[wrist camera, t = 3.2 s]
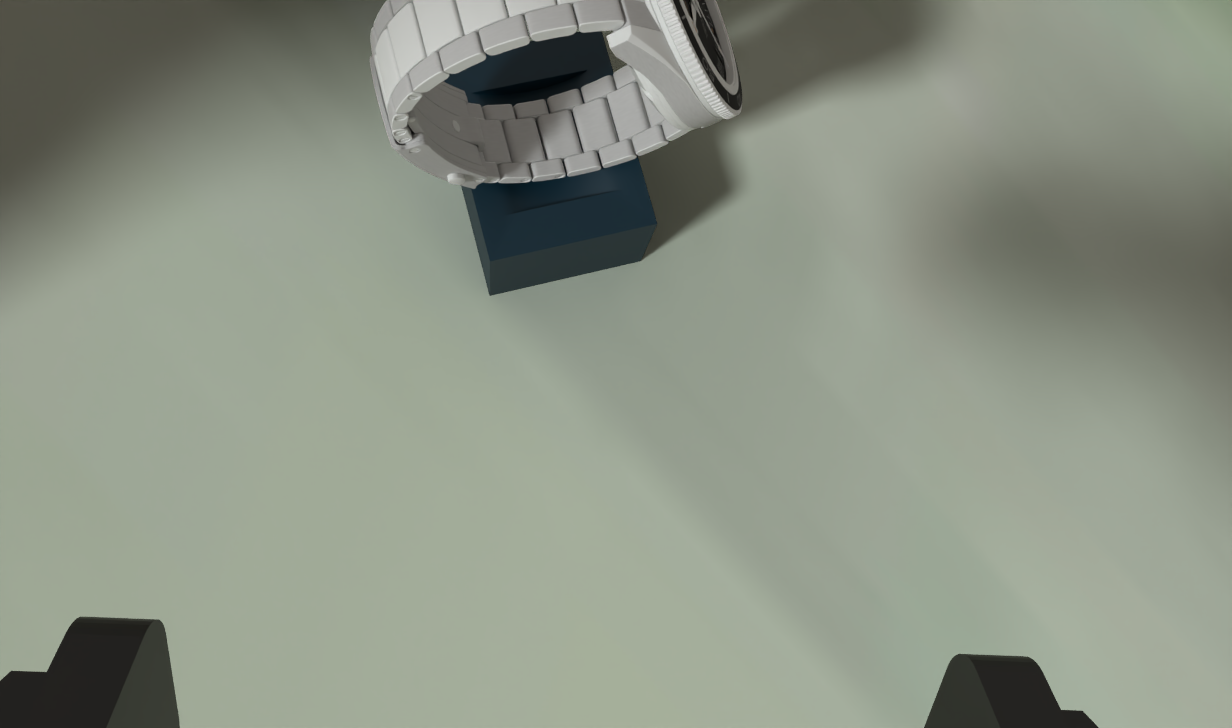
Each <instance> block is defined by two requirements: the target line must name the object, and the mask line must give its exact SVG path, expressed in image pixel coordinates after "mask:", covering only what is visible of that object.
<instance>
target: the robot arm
mask: <svg viewBox="0 0 1232 728" xmlns="http://www.w3.org/2000/svg"><path fill="white" fill-rule="evenodd" d="M0 728H180V726H179V716H178V709H177V703H176V696H175V690H174V683H173V677H172V670H171V664H170V657H169V651H168V644H167V638H166V632H165V628H164V625H163V623H162V622H161V621H160V620H154V619H128V618H103V617H79V618H77V619H76V620H75V621H74V622H73V623H72V624H71V626H70V627H69V629H68V630H67V632H66V634H65V636H64V638H63V640H62V642H61V644H60V646H59V648H58V650H57V652H56V654H55V656H54V658H53V660H52V662H51V664H50V667H49V669H48V671H47V672H27V671H11V672H9V673H8V674H7V675H6V676H5V677H4V678H3V679H2V680H1V681H0ZM924 728H1098V727H1097V726H1096V725H1095V723H1094V722H1093V721H1092V720H1091V719H1090V718H1089V717H1088V716H1087V715H1086V714H1085V713H1084V712H1083V711H1073V710H1061V709H1060V707H1059V705H1058V703H1057V701H1056V699H1055V697H1054V695H1053V693H1052V691H1051V688H1050V686H1049V684H1048V682H1047V680H1046V678H1045V676H1044V674H1043V672H1042V670H1041V669H1040V667H1039V666H1038V664H1037V663H1036V662H1035V661H1034V660H1033V659H1031V658H1029V657H1024V656H999V655H973V654H958V655H956V656H954V657H953V658H952V660H951V661H950V663H949V665H948V667H947V670H946V672H945V675H944V678H943V680H942V683H941V685H940V688H939V691H938V693H937V696H936V698H935V701H934V703H933V706H932V709H931V711H930V714H929V716H928V719H927V722H926V724H925V727H924Z"/></svg>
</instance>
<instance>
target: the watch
mask: <svg viewBox="0 0 1232 728" xmlns="http://www.w3.org/2000/svg"><path fill="white" fill-rule="evenodd" d="M505 2H506V6H507V9H508V13H509V16H510V18H509V17H508V13H507V10H506V6H505ZM505 2H504V0H387V1H386V2H385V3H384V4H383V6H382V7H381V9H380V11H379V12H378V14H377V16H376V19H375V21H374V26H373V27H372V29H371V34H370V43H371V50H372V54H373V55H372V56H371V57H370V66H371V72H372V78H373V83H374V87H375V92H376V96H377V100H378V104H379V108H380V111H381V115H382V119H383V122H384V125H385V129H386V132H387V135H388V138H389V141H390V144H391V146H392V148H393V149H394V150H395V151H397V152H398V153H399V154H400V155H401V156H402V157H404V158H405V159H406V160H407V161H409V162H410V163H412V164H413V165H415V166H416V167H418V168H420V169H421V170H423V171H425V172H427V173H429V174H431V175H433V176H436V177H438V178H441V179H443V180H446V181H448V182H449V183H450V184H453V185H461V186H462V190H463V194H464V198H465V202H466V206H467V210H468V214H469V217H470V221H471V225H472V229H473V233H474V237H475V241H476V245H477V248H478V252H479V256H480V260H481V264H482V268H483V272H484V276H485V279H486V283H487V287H488V291H489V295H490V296H491V295H495V294H499V293H504V292H508V291H512V290H517V289H521V288H525V287H530V286H534V285H538V284H543V283H547V282H551V281H556V280H560V279H564V278H569V277H573V276H578V275H582V274H586V273H591V272H595V271H599V270H604V269H608V268H612V267H617V266H621V265H625V264H630V263H634V262H638V261H641V259H642V257H643V255H644V252H645V250H646V248H647V246H648V243H649V241H650V239H651V237H652V234H653V232H654V230H655V228H656V226H657V221H656V218H655V214H654V211H653V207H652V204H651V200H650V197H649V194H648V190H647V187H646V183H645V180H644V176H643V173H642V169H641V166H640V163H639V159H638V156H641V155H644V154H646V153H649V152H651V151H654V150H656V149H658V148H660V147H662V146H665V145H667V144H668V143H669V141H672V140H675V139H677V138H679V137H680V136H682V135H684V134H686V133H687V132H689V131H691V130H694V129H698V128H705V127H708V126H710V125H713V124H715V123H717V122H719V121H721V120H722V119H723V118H724V119H730V118H732V117H735V116H737V115H739V114H740V112H741V109H742V89H741V82H740V77H739V72H738V68H737V64H736V60H735V56H734V52H733V49H732V46H731V42H730V39H729V36H728V33H727V30H726V27H725V24H724V21H723V18H722V15H721V12H720V9H719V7H718V4H717V1H716V0H556V1H555V0H505ZM556 3H557V4H556ZM574 15H575V16H574ZM525 21H526V23H527V26H528V30H529V34H530V37H531V39H532V40H534V41H530V38H529V34H528V31H527V27H526V23H525ZM576 22H577V23H576ZM577 27H578V29H579V31H580V32H576V30H577ZM612 30H613V33H611V34H609V35H607V40H608V43H609V47H610V49H611V50H612V52H613V53H614V54H615V56H616V57H617V58H619V59H620V60H622V61H624V62H625V63H627V65H626V66H624V67H623V68H621V69H619V70H617V71H616V72H614V73H613V69H612V66H611V62H610V59H609V56H608V52H607V49H606V45H605V42H604V38H603V35H602V31H612ZM575 32H576V33H575ZM637 155H638V156H637Z"/></svg>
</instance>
